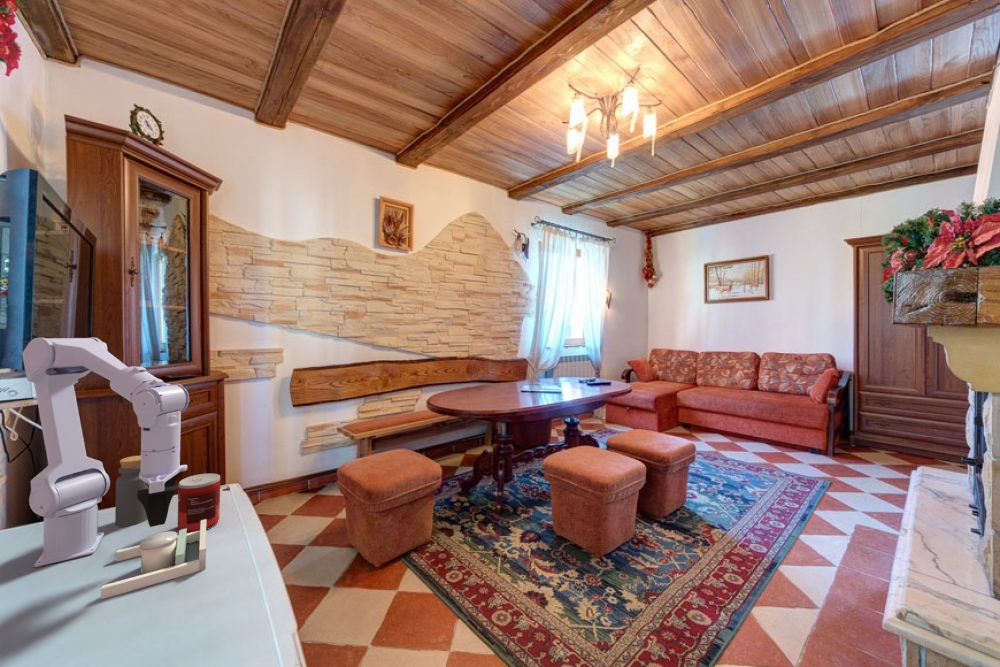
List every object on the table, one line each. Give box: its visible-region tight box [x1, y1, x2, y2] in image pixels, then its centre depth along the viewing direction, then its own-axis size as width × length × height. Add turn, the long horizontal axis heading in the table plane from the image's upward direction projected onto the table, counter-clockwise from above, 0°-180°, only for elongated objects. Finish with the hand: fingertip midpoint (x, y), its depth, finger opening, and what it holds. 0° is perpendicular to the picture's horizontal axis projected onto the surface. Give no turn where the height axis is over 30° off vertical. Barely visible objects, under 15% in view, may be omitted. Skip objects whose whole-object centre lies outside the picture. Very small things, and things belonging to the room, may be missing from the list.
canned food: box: [177, 473, 221, 533], centre depth 88 cm, size 8×8×11 cm
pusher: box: [174, 528, 187, 566], centre depth 75 cm, size 11×1×3 cm, turn 38°
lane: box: [100, 519, 207, 600], centre depth 74 cm, size 14×14×4 cm
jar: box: [139, 530, 178, 574], centre depth 73 cm, size 5×5×5 cm
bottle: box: [114, 454, 149, 528], centre depth 90 cm, size 6×6×15 cm
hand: (159, 516), depth 73 cm, fingers open, 7 cm apart
